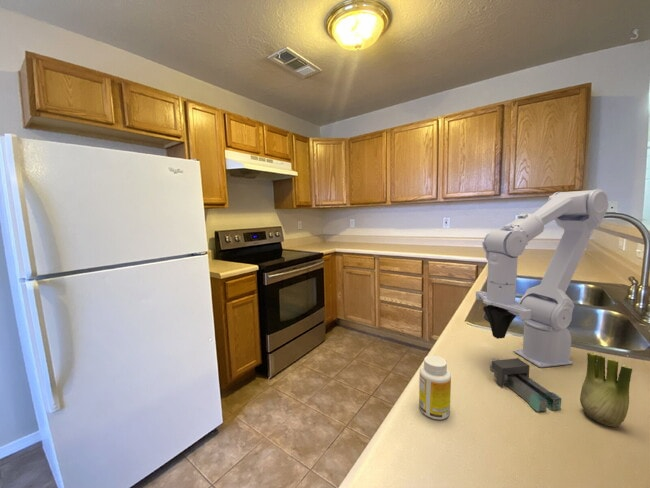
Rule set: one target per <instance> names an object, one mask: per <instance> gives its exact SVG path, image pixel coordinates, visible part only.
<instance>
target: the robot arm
mask: <svg viewBox="0 0 650 488" xmlns="http://www.w3.org/2000/svg"><path fill="white" fill-rule="evenodd" d="M608 209H609V199H608V196H607V193H606V192H605V191H604V190H603V189H601V188H596V189H590V190H576V191H575V190H574V191H556V192H554V193H553V194H552V195H549V196H548V199H547V202H546V203H545V204H543V205H542V206H540V207H539V208H538V209H537V210H536V211H534V212H533V213H520V214H518V215H517V218H515V219H514V220H512V221H510V223H506V224H505V225H503V227H501V228H500V229H494V230H493V229H492V230H491V231H489V232H488V233H487V234H486V235H485V237H484V238H483V241H482V244H481V245H482V248H483V250H484V253H485V259H486V261H487V281H486V291H483V290H479V291H475V299H476V300H479V301H482V303H483V304H484V305H485V306H483V309H482V310H483V311H484V313H485V314H486V315H485V316H486V317H487V319H488V322H489V325H490V329H491V333H492V337H493V338H495V339H497V340H499V339H505V337H506V335H507V332H508V329H509V327H510V326H511V324H512V322H513V321H514V320H515V318H516V317H518V318H519V319H520V320H521V321H522V322H524V324H523V325H524V326H523V338H522V339H523V342H522V348H521V349H514V350H513V352H514V353H515V354H517V355H519V356H520V357H522V358H524V359H526V360H527V361H528V362H530V363H532V364H533V365H535V366H537V367H538V368H548V367H555V366H556V367H557V366H567V365H573V364H574V362H573V361H572V360H570V359H571V358H570V357H571V349H572V336H571V333H570V330H569V329H568V327H569V325H570V324H571V322H572V318H573V311H574V308H575V304H574V302H573V300H572V299H571V298H570V297H569V295H567V293H566V292H567V290H568V287H569V285H570V283H571V281H572V279H573V277H574V274H575V272H576V270H577V268H578V265H579V263H580V261H581V259H582V257H583V254H585V253H584V252H585V251H586V248H587V246H588V244H589V242H590V239H591V237H592V235H593V234H594V233H593V232H594V230H595V229H597V228H599V227H600V226H601V223H602V221H604V218H605V216H606V213H607V212H608V211H607V210H608ZM552 221H555V223H556V225H557V226H558V227H560V228H562V229H563V234H562V235H561V238H560V240H559V242H558V244H557V247H556V248H555V251H554V253H553V255H552V258H551V259H550V262H549V264H548V267H547V268H546V270H545V273H544V275H543V277H542V279H541V282H540V284H537V285H535V286H533V287H530V288H527V289H526V291H525V293H524V294H523V295H522V297H520V299H519V300H518V301H517V300H516V294H517V275H518V261H519V259H518V256H521V255H523V254H524V251H525V249H526V247H527V245H528V244H529V242H530V241H532V240H534V239H535V238H536V237H538V236H540V235H541V234H542V233H543V232H544V230H545V226H546V225H547V224H548V223H550V222H552Z"/></svg>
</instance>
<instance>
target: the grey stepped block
mask: <svg viewBox="0 0 650 488" xmlns="http://www.w3.org/2000/svg"><path fill="white" fill-rule="evenodd" d="M530 366H531V365H529V364H528V363H527V362H524V361H523V360H522V359H520V358H519V357H515V358H507V359H499V360H495V361H492V367H491V368H493V369H494V370H495V371H497V377H496V384H497V385H498V386H499V387H501V388H503V387H505V383H504V376H505V375H511V374H520V373H523V374H524V375H526V376H527V377H529V378H530V368H531V367H530Z"/></svg>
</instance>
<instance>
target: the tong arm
mask: <svg viewBox="0 0 650 488" xmlns="http://www.w3.org/2000/svg"><path fill="white" fill-rule="evenodd" d="M493 376H495V377H496V378H497V371H495V370H494V372H493ZM504 385H506V386H507V387H508V388H510V389H511V390H512V391H513V392H514V393H516V394H517V395H518V396H519V397H521V398H522V399H523V400H525V401H526V402H527V403H529V406H530V407H531V408H532V409H534V410H535V411H536V412H546V411H547V407H546V406H547V400H546V399H545V398H544V397H542V396H541V395H539V394H538V393H537V392H535V391H534V390H533V389H531V388H530V387H529V386H527V385H526V384H525V383H523V382H522V381H520V380H519V379H518V378H516V377H515V376H514V375H512V374H511V375H505V376H504Z"/></svg>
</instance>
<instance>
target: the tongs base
mask: <svg viewBox="0 0 650 488" xmlns="http://www.w3.org/2000/svg"><path fill="white" fill-rule="evenodd" d="M495 360H500V359H499V358H494V357H492V358H490V360H489V361H490V362H489V371H491V372H492V373H494V369H493V368H491V367H492V361H495ZM512 375H514V376H515V377H516V378H518V379H519V380H520V381H522V382H523V383H525V384H526V385H527V386H529V387H530V388H531V389H533V390H534V391H535V392H537V393H538V394H539V395H541V396H542V397H544V398H545V399H546V400H547V406H546V408H548V409H549V410H551V412H555V411H561V409H562V408H561V407H562V397H560V395H557V394H556V393H555V392H553V391H550V390H548V389H547V388H545V387H544V386H542V385H541V384H539V383H538V382H536V381H535V380H533V379H532V378H530V376H529V377H527V376H526V375H524V374H523V373H520V374H512Z"/></svg>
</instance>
